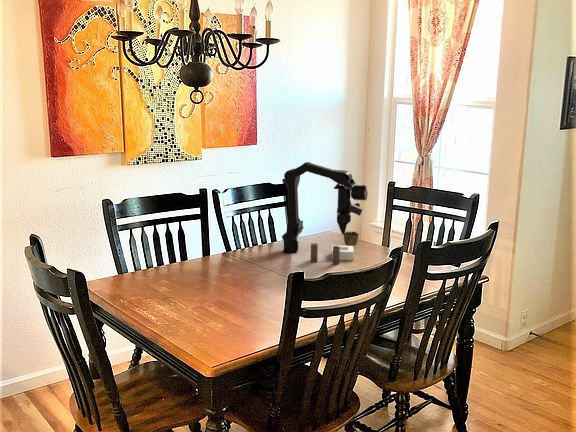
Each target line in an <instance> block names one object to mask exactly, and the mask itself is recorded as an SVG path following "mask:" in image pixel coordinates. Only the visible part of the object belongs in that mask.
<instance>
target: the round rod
mask: <svg viewBox="0 0 576 432" xmlns="http://www.w3.org/2000/svg"><path fill="white" fill-rule="evenodd" d="M340 246H341V245H337V246H333V260H332V265H334V266H337V265H338V264H339V265H340V260H339V258H340ZM339 265H338V266H339Z"/></svg>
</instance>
